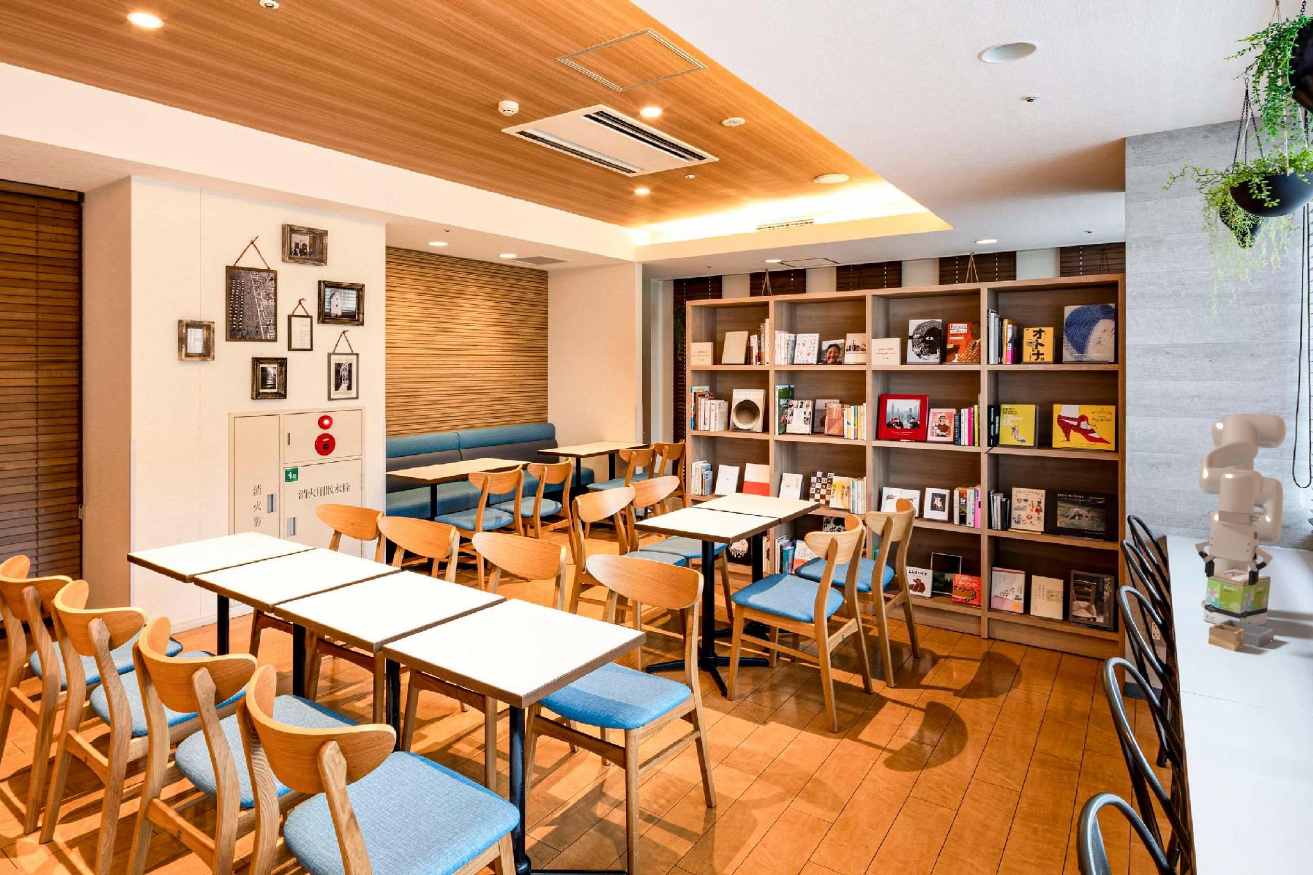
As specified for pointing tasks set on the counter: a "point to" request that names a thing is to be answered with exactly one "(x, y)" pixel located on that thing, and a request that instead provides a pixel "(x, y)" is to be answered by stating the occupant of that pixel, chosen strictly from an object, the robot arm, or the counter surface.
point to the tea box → (1236, 598)
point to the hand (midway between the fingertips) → (1230, 580)
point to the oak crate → (1226, 637)
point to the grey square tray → (1252, 632)
